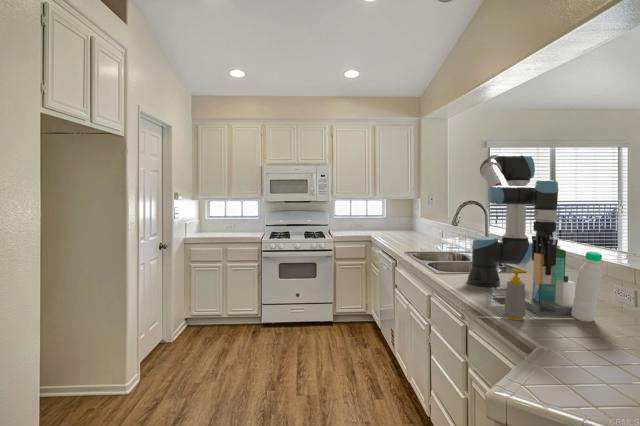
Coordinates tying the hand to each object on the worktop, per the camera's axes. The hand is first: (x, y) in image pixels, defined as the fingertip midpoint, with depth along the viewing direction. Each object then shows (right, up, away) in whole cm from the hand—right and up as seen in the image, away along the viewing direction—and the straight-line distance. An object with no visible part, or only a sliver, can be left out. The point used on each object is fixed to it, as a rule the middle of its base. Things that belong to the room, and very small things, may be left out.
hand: (542, 281), depth 148 cm
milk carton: (+10, -11, +14) cm, 21 cm away
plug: (0, 0, 0) cm, 0 cm away
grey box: (+6, -12, +1) cm, 14 cm away
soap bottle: (-14, -12, -7) cm, 20 cm away
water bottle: (+11, -12, -7) cm, 18 cm away
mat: (-7, -11, +13) cm, 18 cm away
